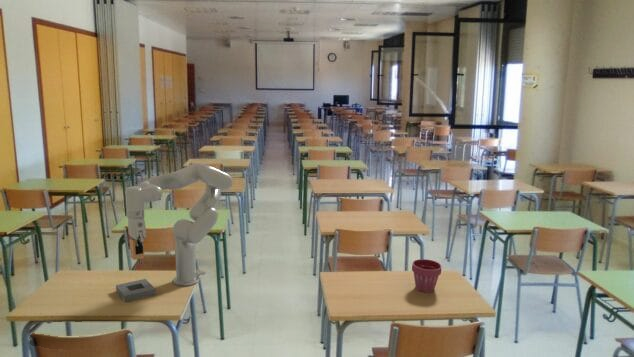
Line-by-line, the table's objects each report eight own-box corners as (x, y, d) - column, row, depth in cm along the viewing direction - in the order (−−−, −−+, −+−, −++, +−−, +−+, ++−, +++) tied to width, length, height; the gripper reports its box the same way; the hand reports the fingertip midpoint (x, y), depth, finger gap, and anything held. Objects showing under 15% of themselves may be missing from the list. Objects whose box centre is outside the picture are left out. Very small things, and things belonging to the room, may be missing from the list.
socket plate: (145, 284, 250) (145, 278, 250) (155, 294, 239) (155, 288, 239) (116, 291, 242) (115, 285, 241) (125, 302, 231) (124, 295, 230)
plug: (141, 255, 238) (140, 236, 236) (144, 257, 235) (143, 238, 233) (130, 257, 234) (129, 238, 233) (133, 259, 231) (132, 241, 230)
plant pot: (445, 291, 251) (447, 267, 248) (422, 296, 245) (424, 271, 242) (427, 280, 263) (429, 257, 261) (405, 285, 257) (406, 261, 255)
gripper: (151, 216, 226) (152, 255, 230) (136, 208, 239) (138, 245, 243) (134, 219, 222) (136, 259, 225) (120, 210, 234) (122, 248, 238)
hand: (137, 251), depth 234 cm, fingers closed on plug, 4 cm apart
